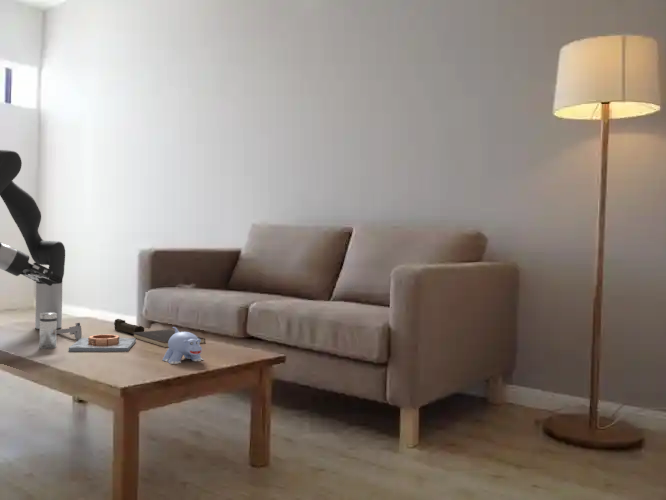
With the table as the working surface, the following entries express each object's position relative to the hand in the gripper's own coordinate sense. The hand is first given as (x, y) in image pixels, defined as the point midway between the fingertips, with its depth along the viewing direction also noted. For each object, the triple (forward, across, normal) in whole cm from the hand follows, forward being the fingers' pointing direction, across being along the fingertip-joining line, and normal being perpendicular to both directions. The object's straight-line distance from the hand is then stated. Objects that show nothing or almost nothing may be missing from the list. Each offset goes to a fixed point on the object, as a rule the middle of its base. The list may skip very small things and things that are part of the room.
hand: (56, 282), depth 215 cm
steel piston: (+7, -1, +20) cm, 22 cm away
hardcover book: (+42, -8, +4) cm, 43 cm away
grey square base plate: (+21, -8, +14) cm, 26 cm away
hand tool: (+34, +13, +3) cm, 37 cm away
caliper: (+16, +16, +13) cm, 26 cm away
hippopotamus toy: (+33, -43, +14) cm, 56 cm away
